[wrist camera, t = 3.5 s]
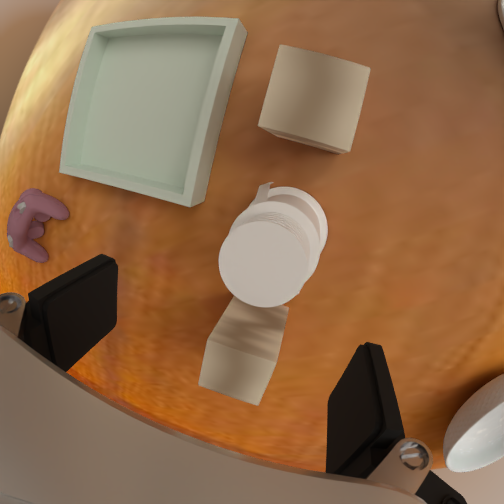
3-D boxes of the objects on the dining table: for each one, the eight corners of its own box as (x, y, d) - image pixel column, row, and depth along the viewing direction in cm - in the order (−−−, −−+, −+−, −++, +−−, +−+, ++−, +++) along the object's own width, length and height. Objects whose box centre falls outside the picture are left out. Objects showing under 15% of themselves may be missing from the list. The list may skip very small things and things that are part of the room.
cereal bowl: (550, 351, 20) (572, 380, 14) (493, 432, 26) (504, 463, 19) (476, 347, 23) (500, 388, 17) (414, 439, 29) (421, 479, 22)
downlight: (338, 263, 24) (346, 320, 14) (260, 282, 26) (226, 342, 16) (311, 170, 22) (306, 168, 13) (231, 195, 24) (176, 211, 15)
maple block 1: (289, 307, 26) (276, 362, 19) (273, 348, 28) (258, 405, 20) (237, 290, 27) (207, 339, 19) (226, 332, 28) (198, 384, 21)
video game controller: (67, 188, 30) (19, 178, 23) (72, 215, 28) (19, 207, 22) (43, 239, 33) (1, 235, 27) (48, 266, 32) (3, 263, 25)
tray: (247, 32, 19) (238, 18, 16) (204, 201, 25) (190, 207, 22) (109, 34, 21) (91, 26, 18) (78, 169, 27) (59, 172, 24)
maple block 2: (353, 97, 19) (370, 68, 12) (338, 154, 21) (349, 151, 14) (292, 80, 20) (279, 44, 13) (277, 136, 22) (257, 125, 14)
